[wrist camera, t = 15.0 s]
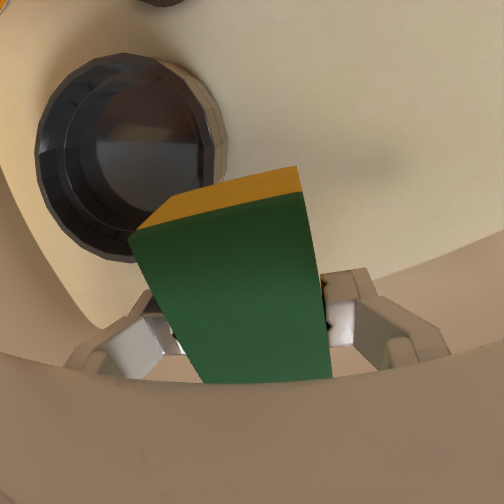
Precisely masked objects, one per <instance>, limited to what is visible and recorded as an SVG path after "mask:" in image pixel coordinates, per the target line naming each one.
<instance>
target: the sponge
mask: <svg viewBox="0 0 504 504" xmlns="http://www.w3.org/2000/svg"><path fill="white" fill-rule="evenodd" d="M127 241H128V243H129V246H130V248H131V250H132V252H133V254H134V257H135V259H136V261H137V263H138V265H139V267H140V269H141V271H142V273H143V275H144V278H145V280H146V282H147V284H148V286H149V288H150V290H151V292H152V294H153V296H154V297H155V299H156V301H157V303H158V305H159V307H160V309H161V311H162V313H163V315H164V316H165V318H166V320H167V322H168V324H169V326H170V327H171V329H172V331H173V333H174V335H175V336H176V338H177V340H178V342H179V343H180V345H181V347H182V348H183V350H184V352H185V354H186V355H187V357H188V358H189V360H190V362H191V364H192V365H193V367H194V368H195V370H196V372H197V373H198V375H199V377H200V378H201V380H202V381H203V383H210V384H244V383H274V382H291V381H305V380H316V379H326V378H333V377H332V367H331V359H330V351H329V343H328V335H327V328H326V321H325V314H324V307H323V301H322V294H321V288H320V282H319V276H318V270H317V264H316V258H315V253H314V247H313V242H312V237H311V231H310V226H309V221H308V216H307V211H306V206H305V202H304V197H303V192H302V188H301V183H300V179H299V174H298V170H297V167H296V166H292V167H287V168H282V169H277V170H273V171H268V172H264V173H259V174H255V175H251V176H246V177H242V178H238V179H234V180H230V181H226V182H222V183H218V184H214V185H210V186H207V187H203V188H199V189H196V190H192V191H188V192H185V193H181V194H178V195H174V196H171V197H170V198H169V199H168V200H167V201H166V202H165V203H164V204H163V205H162V206H160V207H159V208H158V209H157V210H156V211H155V212H154V213H153V214H152V215H151V216H150V217H149V218H148V219H147V220H146V221H145V222H144V223H142V224H141V225H140V226H139V227H138V228H137V230H136V231H135V232H134V233H133V234H132V235H131V236H130V237H129V238H128V239H127Z"/></svg>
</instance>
